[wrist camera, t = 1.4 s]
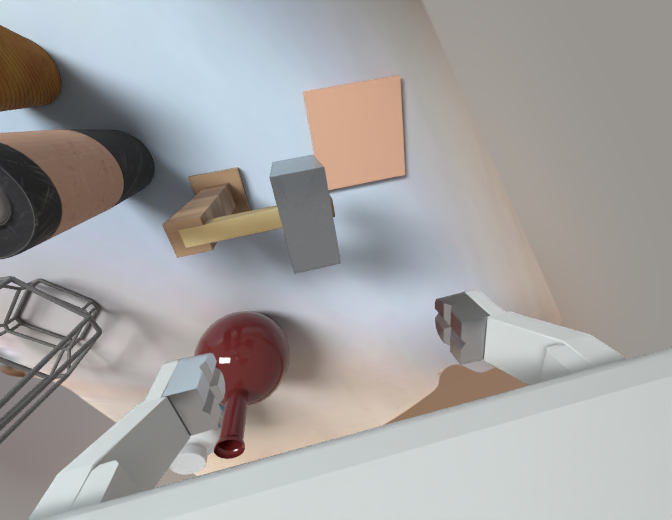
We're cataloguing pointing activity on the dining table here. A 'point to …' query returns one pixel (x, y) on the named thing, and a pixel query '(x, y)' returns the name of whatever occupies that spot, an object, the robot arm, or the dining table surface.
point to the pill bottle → (197, 450)
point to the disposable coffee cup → (25, 73)
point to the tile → (357, 131)
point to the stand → (217, 214)
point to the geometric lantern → (14, 411)
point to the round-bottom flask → (244, 369)
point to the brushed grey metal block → (305, 212)
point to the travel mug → (64, 181)
